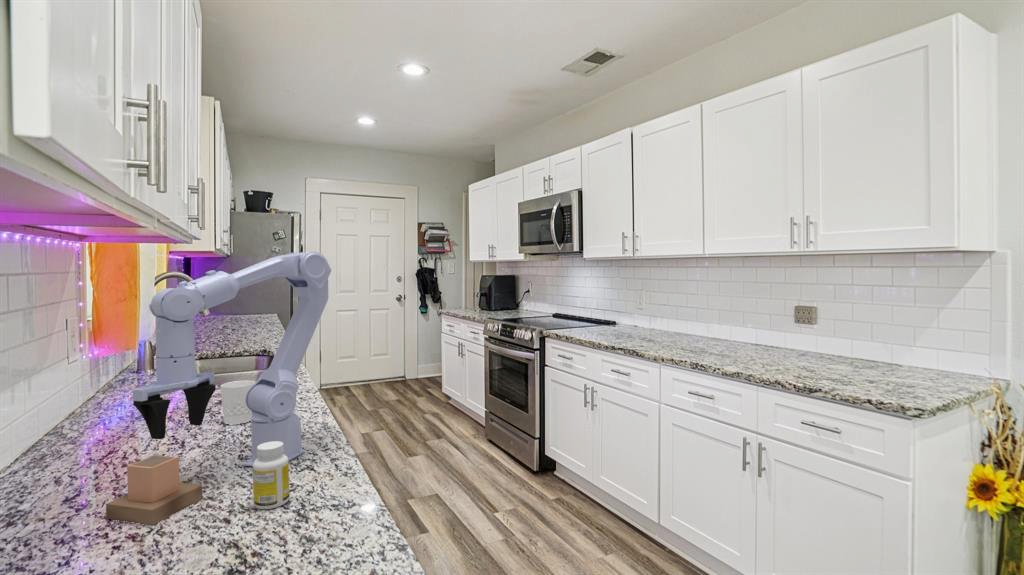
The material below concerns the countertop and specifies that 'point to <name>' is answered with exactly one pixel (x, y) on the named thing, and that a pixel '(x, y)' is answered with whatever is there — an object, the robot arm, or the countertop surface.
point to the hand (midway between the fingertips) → (177, 431)
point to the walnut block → (153, 506)
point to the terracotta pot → (153, 478)
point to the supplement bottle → (270, 476)
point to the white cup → (236, 401)
